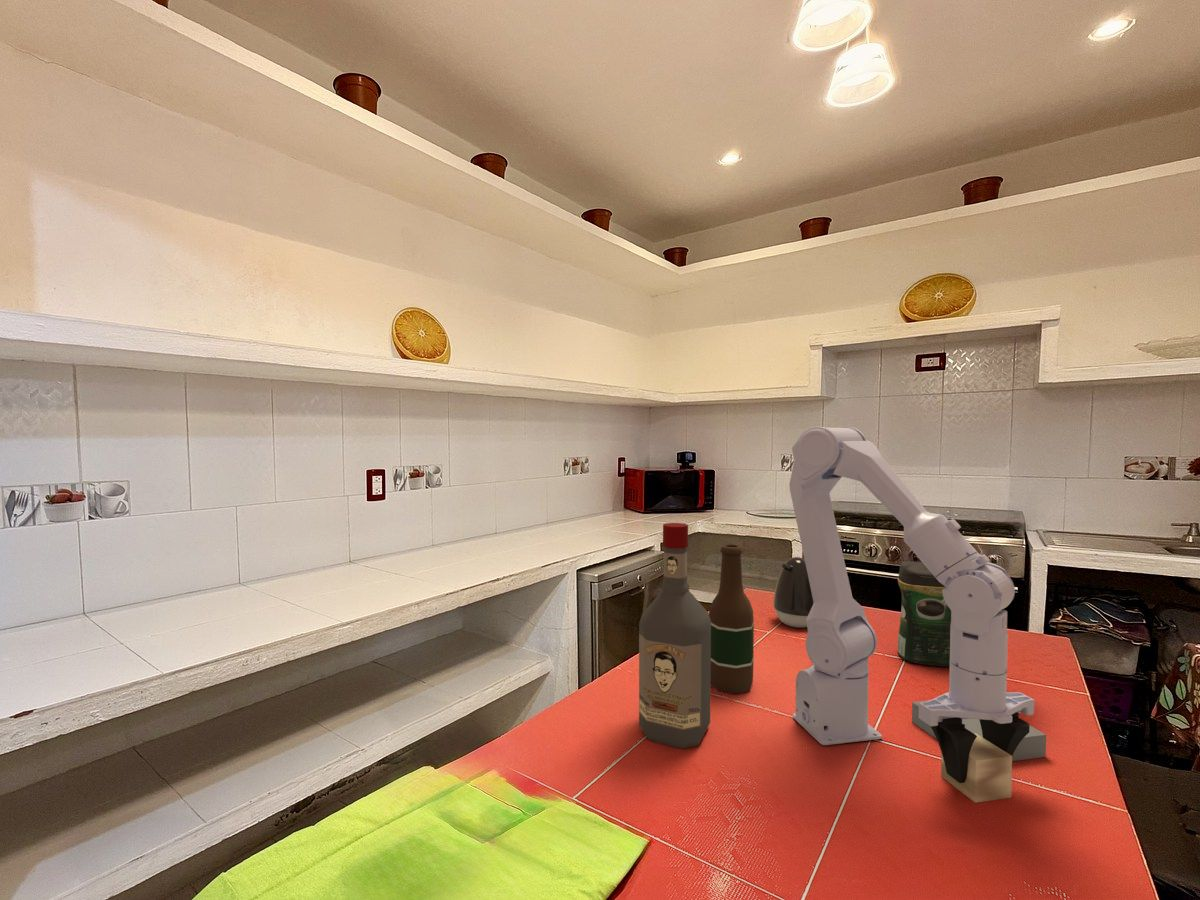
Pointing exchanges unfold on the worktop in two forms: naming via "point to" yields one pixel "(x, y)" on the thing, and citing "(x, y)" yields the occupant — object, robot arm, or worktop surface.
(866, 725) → the robot arm
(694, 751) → the worktop surface
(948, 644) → the coffee jar
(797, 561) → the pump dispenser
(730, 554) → the beer bottle
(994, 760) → the birch cube
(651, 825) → the worktop surface
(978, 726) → the slate pedestal
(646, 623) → the liquor
